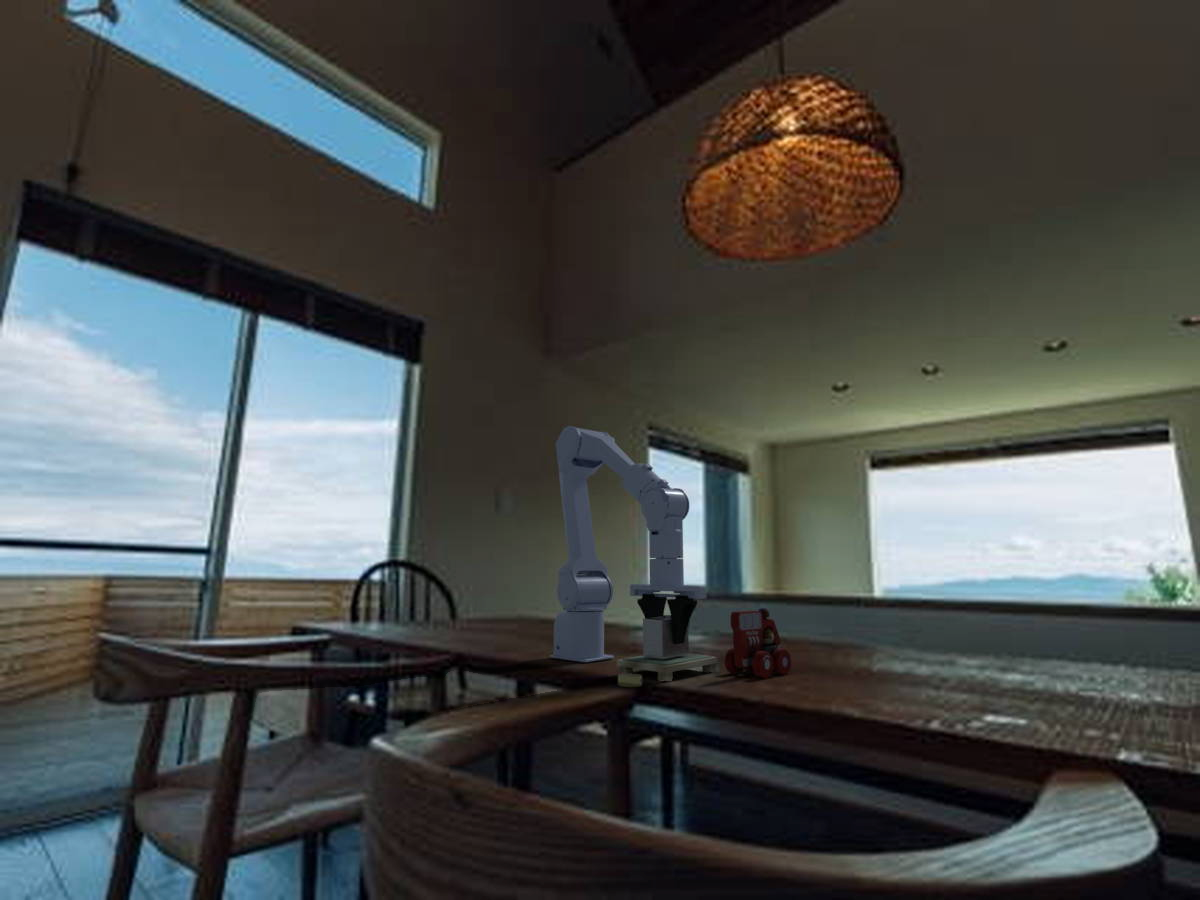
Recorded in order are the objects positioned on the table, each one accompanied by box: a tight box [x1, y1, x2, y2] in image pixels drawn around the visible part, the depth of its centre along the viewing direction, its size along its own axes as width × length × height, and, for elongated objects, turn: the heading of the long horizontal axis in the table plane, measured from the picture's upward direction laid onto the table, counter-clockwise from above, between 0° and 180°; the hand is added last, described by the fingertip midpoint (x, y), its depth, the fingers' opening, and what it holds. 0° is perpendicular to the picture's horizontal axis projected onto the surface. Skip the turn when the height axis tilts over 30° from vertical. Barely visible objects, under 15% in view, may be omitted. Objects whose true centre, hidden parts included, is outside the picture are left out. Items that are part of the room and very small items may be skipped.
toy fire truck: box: [724, 607, 792, 679], centre depth 107 cm, size 7×12×10 cm, turn 132°
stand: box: [616, 652, 718, 681], centre depth 106 cm, size 10×14×2 cm
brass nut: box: [617, 673, 643, 688], centre depth 96 cm, size 4×4×2 cm
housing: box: [642, 614, 690, 659], centre depth 107 cm, size 4×7×6 cm, turn 136°
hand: (667, 642), depth 107 cm, fingers closed on housing, 4 cm apart
